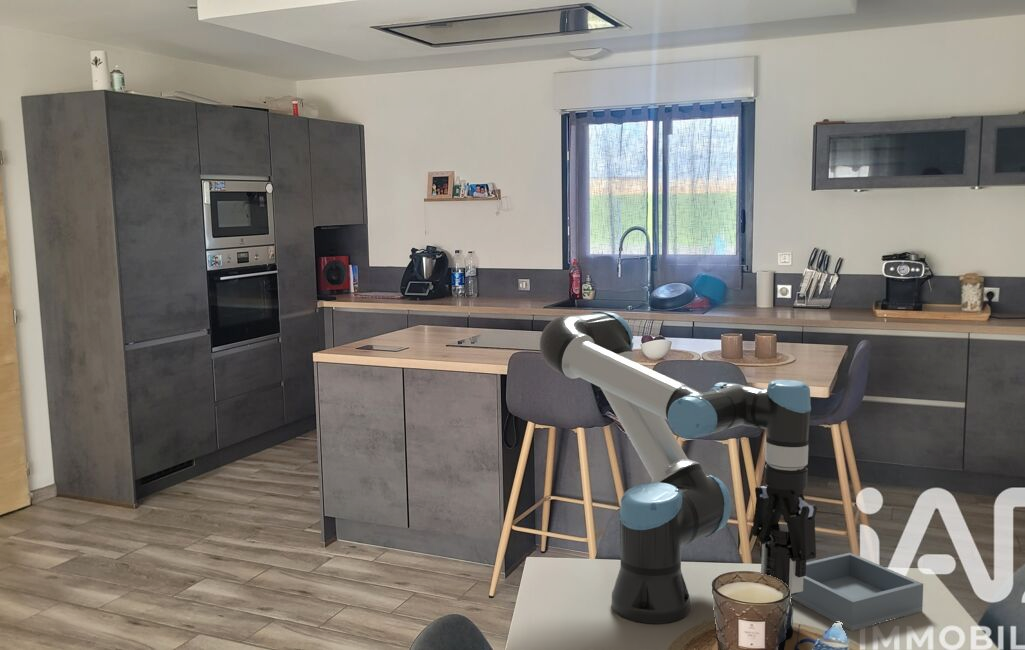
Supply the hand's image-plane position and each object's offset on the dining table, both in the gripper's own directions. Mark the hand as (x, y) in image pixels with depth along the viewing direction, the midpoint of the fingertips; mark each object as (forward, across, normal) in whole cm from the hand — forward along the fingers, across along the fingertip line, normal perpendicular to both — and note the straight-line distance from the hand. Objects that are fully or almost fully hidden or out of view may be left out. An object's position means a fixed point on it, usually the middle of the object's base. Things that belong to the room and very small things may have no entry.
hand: (781, 583), depth 160 cm
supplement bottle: (+1, 0, 0) cm, 1 cm away
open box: (+7, -1, -17) cm, 19 cm away
